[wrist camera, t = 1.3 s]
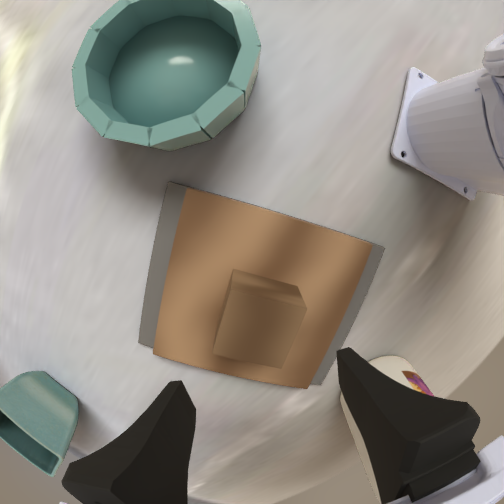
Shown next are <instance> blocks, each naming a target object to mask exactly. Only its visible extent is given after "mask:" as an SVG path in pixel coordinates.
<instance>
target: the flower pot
mask: <svg viewBox="0 0 504 504" xmlns="http://www.w3.org/2000/svg"><path fill="white" fill-rule="evenodd" d="M78 413H79V410H78V401H77V398H76V397H75V396H74V395H73V394H71V393H70V392H69V391H67V390H66V389H65V388H63V387H62V386H61V385H60V384H58V383H57V382H56V381H55V380H53V379H52V378H51V377H50V376H49V375H47V374H46V373H45V372H43V371H31V372H26V373H23V374H20V375H18V376H16V377H15V378H13V379H12V380H11V381H9V382H8V383H7V384H5V385H4V386H3V387H2V388H0V438H1V439H2V440H3V441H4V442H6V443H7V444H8V445H9V446H10V447H12V448H13V449H14V450H15V451H16V452H18V453H19V454H20V455H21V456H23V457H24V458H25V459H27V460H28V461H29V462H31V463H32V464H33V465H35V466H36V467H37V468H39V469H40V470H42V471H43V472H45V473H46V474H48V475H49V476H51V477H54V476H55V474H56V472H57V470H58V468H59V466H60V465H61V464H62V462H63V461H64V458H65V455H66V453H67V450H68V447H69V445H70V442H71V440H72V437H73V435H74V432H75V429H76V426H77V422H78Z"/></svg>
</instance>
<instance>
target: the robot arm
mask: <svg viewBox="0 0 504 504" xmlns="http://www.w3.org/2000/svg"><path fill="white" fill-rule="evenodd" d="M482 62H483V65H484V68H481V69H477V70H474V71H471V72H468V73H465V74H462V75H459V76H456V77H453V78H450V79H447V80H445V81H442V82H437V81H436V80H434V79H433V78H431V77H430V76H428V75H426V74H425V73H423V72H422V71H420V70H418V69H417V68H415V67H412V68H410V69H409V70H408V75H407V80H406V85H405V90H404V95H403V100H402V105H401V109H400V114H399V118H398V122H397V127H396V131H395V135H394V139H393V142H392V146H391V155H392V156H393V157H394V158H395V159H397V160H399V161H401V162H403V163H405V164H407V165H409V166H411V167H413V168H415V169H417V170H419V171H421V172H423V173H424V174H426V175H428V176H430V177H432V178H433V179H435V180H437V181H439V182H440V183H442V184H444V185H445V186H447V187H449V188H451V189H452V190H454V191H455V192H457V193H459V194H460V195H462V196H464V197H465V198H467V199H468V200H474V199H475V197H476V193H477V191H482V192H487V193H492V194H498V195H503V196H504V33H503V34H501V35H500V36H498V37H497V38H495V39H494V40H492V41H491V42H490V43H489V44H488V45H487V46H486V47H485V51H484V58H483V61H482ZM418 74H419V75H420V77H421V79H420V78H419V77H418ZM401 152H403V153H404V157H402V156H401ZM464 188H465V191H464ZM336 352H337V364H338V377H339V384H340V388H341V391H342V394H343V397H344V400H345V402H346V404H347V406H348V408H349V410H350V412H351V415H352V417H353V419H354V421H355V423H356V425H357V427H358V429H359V431H360V433H361V436H362V438H363V440H364V443H365V446H366V449H367V452H368V455H369V459H370V462H371V465H372V469H373V472H374V476H375V479H376V483H377V487H378V491H379V495H380V499H381V504H495V503H496V502H498V501H499V500H500V499H502V498H503V497H504V437H503V436H499V437H498V438H496V439H495V440H494V441H492V442H491V443H490V444H488V445H487V446H485V447H484V448H482V449H481V450H480V451H479V452H478V453H477V454H476V453H475V452H474V450H473V449H474V447H475V445H474V444H473V442H472V438H473V436H474V434H475V433H476V431H477V429H478V426H479V423H480V417H479V416H478V414H477V413H476V412H475V410H474V409H473V408H472V407H471V406H470V405H469V404H468V403H467V402H460V401H453V400H447V399H443V398H438V397H434V396H431V395H427V394H425V393H422V392H419V391H416V390H414V389H411V388H409V387H407V386H405V385H403V384H401V383H399V382H397V381H395V380H393V379H392V378H390V377H388V376H387V375H385V374H384V373H382V372H381V371H379V370H378V369H376V368H375V367H374V366H372V365H371V364H370V363H368V362H367V361H366V360H364V359H363V358H362V357H361V356H360V355H358V354H357V353H356V352H355V351H354V350H353V349H351V348H350V347H348V348H345V349H341V350H338V351H336ZM195 424H196V408H195V406H194V404H193V402H192V401H191V399H190V397H189V395H188V393H187V391H186V388H185V386H184V384H183V382H182V380H181V381H171V382H169V383H168V384H167V386H166V387H165V388H164V389H163V390H162V392H161V393H160V394H159V395H158V397H157V398H156V399H155V400H154V401H153V403H152V404H151V405H150V406H149V407H148V409H147V410H146V411H145V412H144V413H143V414H142V415H141V416H140V417H139V418H138V419H137V420H136V421H135V422H134V423H133V424H132V425H131V426H130V427H129V428H128V429H127V430H126V431H125V432H123V433H122V434H121V435H120V436H119V437H117V438H116V439H114V440H113V441H112V442H110V443H109V444H107V445H106V446H104V447H103V448H101V449H99V450H98V451H96V452H94V453H92V454H90V455H88V456H86V457H84V458H82V459H79V460H77V461H74V462H72V463H70V464H69V467H68V468H67V471H66V473H65V475H64V477H63V479H62V485H63V487H64V488H65V489H66V490H67V491H68V492H69V493H70V494H71V495H73V496H74V497H75V498H76V499H78V500H79V501H80V502H82V503H83V504H188V503H187V482H188V466H189V460H190V454H191V449H192V443H193V438H194V432H195ZM59 504H68V503H65V502H62V501H61V502H60V503H59Z"/></svg>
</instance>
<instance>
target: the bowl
mask: <svg viewBox="0 0 504 504" xmlns="http://www.w3.org/2000/svg"><path fill="white" fill-rule="evenodd" d="M91 28H92V29H89V30H88V32H87V34H86V36H85V38H84V40H83V42H82V45H81V47H80V49H79V51H78V54H77V56H76V59H75V61H74V64H73V66H72V67H73V69H72V78H73V88H74V97H75V105H76V107H77V110H78V111H79V112H80V113H81V114H82V115H83V116H84V117H85V119H86V120H87V121H88V122H89V123H90V124H91V125H92V126H93V127H94V128H95V129H96V130H97V132H98V133H99V134H100V135H101V136H102V137H104V138H109V139H114V140H119V141H124V142H129V143H133V144H138V145H143V146H148V147H152V148H157V149H161V150H166V151H174V150H177V149H180V148H183V147H187V146H190V145H194V144H197V143H201V142H204V141H208V140H211V137H212V138H214V137H215V136H216V135H218V134H219V133H220V132H221V131H222V130H223V129H224V128H225V127H226V126H227V125H228V124H230V123H231V122H232V121H233V120H234V119H235V118H236V117H237V116H238V115H240V114H241V113H242V112H243V111H244V109H245V108H246V105H247V102H248V99H249V96H250V93H251V90H252V88H253V85H254V82H255V79H256V76H257V73H258V66H259V58H260V51H261V43H260V40H259V37H258V34H257V31H256V27H255V24H254V21H253V18H252V15H251V12H250V9H249V8H248V6H247V5H246V4H244V3H243V2H241V1H240V0H119V1H118V2H117V3H116V4H114V5H113V6H112V7H111V8H110V9H109V10H108V11H106V12H105V13H104V14H103V15H102V16H101V17H100V18H99V19H98V20H97V21H96V22H95V23H94V24H93V25H92V26H91ZM210 136H211V137H210Z"/></svg>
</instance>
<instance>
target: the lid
mask: <svg viewBox="0 0 504 504" xmlns="http://www.w3.org/2000/svg"><path fill="white" fill-rule="evenodd" d="M372 247H373V245H372V244H370V243H369V242H366V241H363V240H360V239H357V238H354V237H351V236H348V235H346V234H343V233H340V232H337V231H334V230H331V229H327V228H324V227H321V226H318V225H315V224H312V223H309V222H306V221H303V220H300V219H296V218H293V217H290V216H287V215H283V214H280V213H277V212H274V211H270V210H267V209H264V208H260V207H257V206H254V205H250V204H247V203H243V202H240V201H236V200H233V199H229V198H226V197H222V196H219V195H215V194H211V193H208V192H204V191H201V190H197V189H193V188H187V190H186V193H185V197H184V201H183V205H182V209H181V213H180V217H179V221H178V225H177V229H176V234H175V238H174V242H173V247H172V251H171V256H170V260H169V265H168V270H167V275H166V280H165V285H164V290H163V295H162V301H161V306H160V312H159V317H158V323H157V329H156V336H155V342H154V349H153V354H155V355H158V356H161V357H164V358H168V359H171V360H174V361H178V362H181V363H185V364H188V365H192V366H196V367H200V368H203V369H207V370H211V371H215V372H219V373H224V374H228V375H232V376H237V377H242V378H246V379H251V380H256V381H261V382H267V383H272V384H278V385H284V386H290V387H296V388H303V389H307V388H308V387H309V385H310V383H311V381H312V379H313V377H314V375H315V374H316V372H317V370H318V368H319V366H320V364H321V362H322V360H323V358H324V356H325V354H326V352H327V350H328V348H329V346H330V344H331V342H332V340H333V338H334V336H335V334H336V332H337V330H338V328H339V325H340V323H341V321H342V319H343V317H344V315H345V312H346V310H347V308H348V306H349V303H350V301H351V299H352V297H353V294H354V292H355V289H356V287H357V285H358V282H359V280H360V277H361V275H362V272H363V270H364V267H365V265H366V262H367V260H368V257H369V255H370V252H371V249H372Z"/></svg>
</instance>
